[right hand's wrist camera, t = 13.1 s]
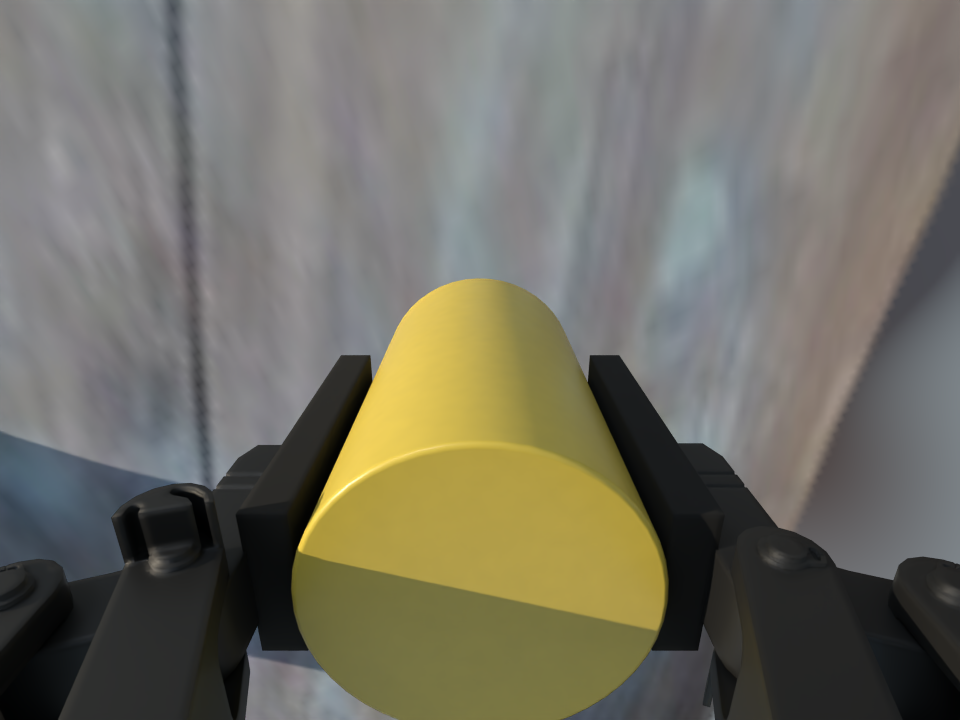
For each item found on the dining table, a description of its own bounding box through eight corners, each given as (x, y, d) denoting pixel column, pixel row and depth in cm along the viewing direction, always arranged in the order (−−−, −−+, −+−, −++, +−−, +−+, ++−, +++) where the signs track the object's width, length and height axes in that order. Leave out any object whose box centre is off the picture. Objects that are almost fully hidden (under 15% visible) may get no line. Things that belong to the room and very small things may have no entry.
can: (468, 475, 19) (457, 781, 10) (351, 354, 17) (208, 588, 8) (605, 378, 17) (742, 628, 8) (493, 238, 16) (512, 360, 7)
